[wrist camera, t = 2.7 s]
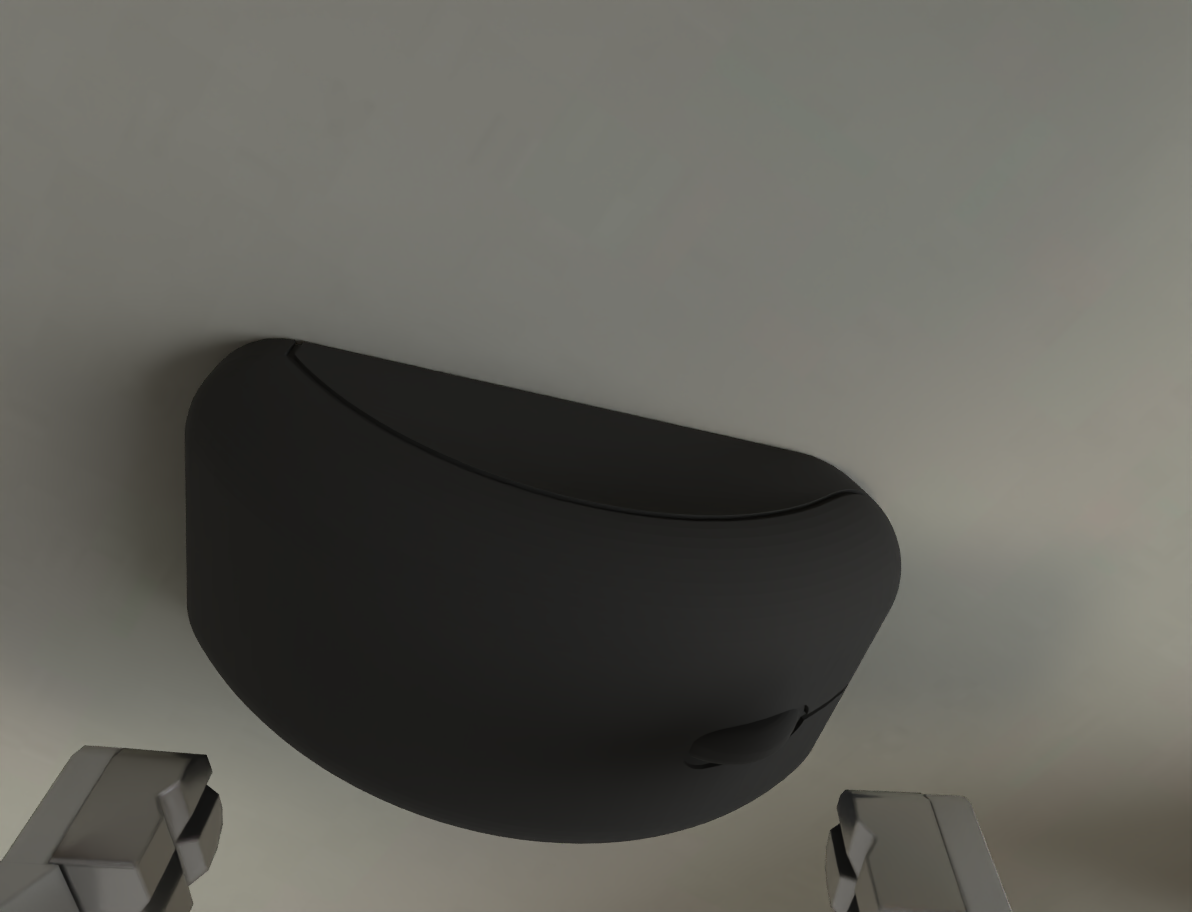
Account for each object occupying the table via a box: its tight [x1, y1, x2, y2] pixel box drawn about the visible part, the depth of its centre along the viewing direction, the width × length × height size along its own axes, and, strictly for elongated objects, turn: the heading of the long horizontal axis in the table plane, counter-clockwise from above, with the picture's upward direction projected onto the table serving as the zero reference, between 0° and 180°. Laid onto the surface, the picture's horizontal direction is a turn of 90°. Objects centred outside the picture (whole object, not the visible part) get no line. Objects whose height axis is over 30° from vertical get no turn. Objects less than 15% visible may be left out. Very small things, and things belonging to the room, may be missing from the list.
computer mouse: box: [185, 339, 901, 844], centre depth 14 cm, size 6×11×4 cm, turn 77°
